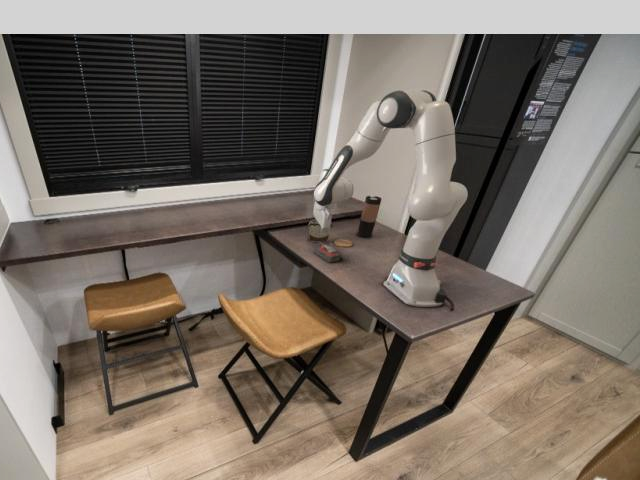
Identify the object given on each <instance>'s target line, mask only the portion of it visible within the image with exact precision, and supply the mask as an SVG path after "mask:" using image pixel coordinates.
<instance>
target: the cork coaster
mask: <svg viewBox="0 0 640 480" xmlns="http://www.w3.org/2000/svg"><path fill="white" fill-rule="evenodd" d="M333 243H334V245H336V246H338V247H341V248H350V247H352V246H353V241H350V240H349V239H344V238H337V239H334V241H333Z"/></svg>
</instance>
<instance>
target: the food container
mask: <svg viewBox="0 0 640 480" xmlns="http://www.w3.org/2000/svg"><path fill="white" fill-rule="evenodd" d="M307 227H309V228H308V242H309V243H312V242H313V243H319V242H322V243H329V238H330V235H331V232H332V229H333V228H334V223H333V222H332V221H331V226H330V228H329V229H326V230H325V233H324V235H321V234H320V231H321V226H320V224H319V223H318V221H317V220H316V219H311V220H309V223H308V225H307Z"/></svg>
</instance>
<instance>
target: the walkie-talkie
mask: <svg viewBox="0 0 640 480" xmlns="http://www.w3.org/2000/svg"><path fill="white" fill-rule="evenodd" d="M318 244H319V245H321V246H317V247H316V248H315V254H316V255H318V256H319V257H321V258H322V259H324V260H325V261H326V262H328V263H335V262H340V261H343V260H344V257H342V254H341V253H339V252H337V250H336V248H334V247H333V246H331V245H327V244H325V243H324V242H318Z"/></svg>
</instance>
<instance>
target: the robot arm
mask: <svg viewBox="0 0 640 480" xmlns="http://www.w3.org/2000/svg"><path fill="white" fill-rule="evenodd" d="M391 129H393V130H394V129H411V131H412V132H413V137H414V153H415V178H414V184H413V190H412V194H411V196H410V198H409V199H408V202H407V212H408V214H409V216H410V217H411V219H412V218H413V219H414V220H415V222H414V223H413V225H412V226H411V227H410V229H409V231H408V233H407V235H406V238H405V242H404V245H403V248H401V250H400V251H399V255H398V260H397V262H396V263H395V264H394V265H393V267H392V268H391V271H390V272H389V276H388V277H387V280H385V281H383V286H384V287H386V289H388V290H389V291H390V292H391V293H392V294H394V295H395V296H396V297H397V298H398V299H399V300H401V301H402V302H403V303H404V304H406V305H409V306H412V307H419V308H435V307H440V306H442V305H443V304H444V303H445V302H446V301H447V302H448V303H449V305H450V311H455V305H454V302H453V300H452V298H450V297H448V294H447V292H446V290H445V289H443V288H441V286H440V285H441V284H442V283H441V282H442V281H441V280H440V279H438V276H437V273H436V271H435V267H437V265H438V262H437V253H438V251H439V249H440V246H441V243H442V241H443V239H444V237H445V235H446V233H447V231H448V230H449V228H450V227H451V225H452V223H453V222H454V220H455V219H456V217H457V215H458V213H459V211H460V209H461V208H462V207H463V205H464V204H465V203H466V201H467V199H468V195H469V193H468V189H467V187H466V186H465V185H464V184H462V183H460V182H456V181H451V178H452V173H453V168H454V165H455V164H456V161H457V152H456V130H455V123H454V116H453V112H452V108H451V105H450V103H448V102H447V101H446V100H445V101H444V100H437V98H436V96H435V94H434V93H432V92H430V91H428V90H424V89H423V90H418V89H404V90H395V91H392V92H389V93H387V94H386V95H384V97H383V98H382V99H379V100H376V101H374V102H372V104H371V106H370V107H369V108H368V109H367V111H366V112H365V114H364V116H363V117H362V119H361V121H360V122H359V124H358V127H357V128H356V130H355V132H354V133H353V135H352V137H351V138H350V139H349V141H348V142H347V143H346V144H345V146H343V147H342V148H341V150H339V152H338V153H337V154H336V156H335V158H334V159H333V161H332V163H331V164H330V166H329V167H328V168H324V169H323V170H321V171H320V174H319V177H318V181H317V184H316V185H315V187H314V190H313V210H312V211H313V212H312V214H313V217H314V220H317V221H318V223H319V224H320V226H321V231H320V234H321V235H324V233H325V230H326V229H329V228H330V226H331V222H332V218H333V217H332V215H333V213H332V212H331V210H333V209H334V204H339V203H344V202H345V203H346V202H348V201H350V200H351V198H352V197H353V195H354V184H353V182H351V181H350V180H349V179H346V178H345V177H344V176H343V175H344V173H345V171H346V170H347V169H349V168H350V167H351V166H353V165H355V164H356V163H359V162H361V161H363V160H366V159H368V158H371V157H372V156H374V155H375V154H376V152H377V151H378V150H379V149H380V147H381V146H382V145H383V143H384V141H385V139H386V137H387V135H388V134H389V132H390V131H391Z"/></svg>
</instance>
